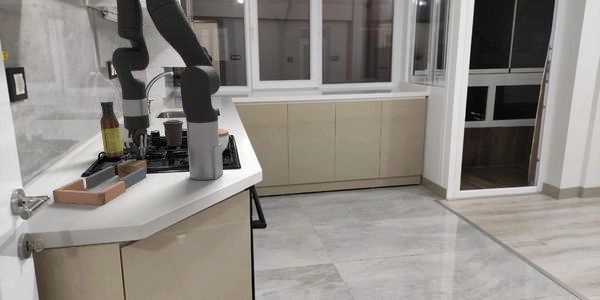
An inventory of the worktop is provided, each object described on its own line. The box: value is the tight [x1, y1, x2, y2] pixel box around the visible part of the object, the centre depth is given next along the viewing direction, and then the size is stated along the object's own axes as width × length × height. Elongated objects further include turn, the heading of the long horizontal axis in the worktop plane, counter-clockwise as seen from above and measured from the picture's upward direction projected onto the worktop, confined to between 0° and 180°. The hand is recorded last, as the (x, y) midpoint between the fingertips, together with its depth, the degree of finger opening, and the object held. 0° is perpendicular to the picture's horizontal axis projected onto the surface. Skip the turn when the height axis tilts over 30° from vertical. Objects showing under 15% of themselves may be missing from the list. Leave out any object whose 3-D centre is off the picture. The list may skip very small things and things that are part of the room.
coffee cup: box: [162, 119, 184, 147], centre depth 168 cm, size 8×8×10 cm
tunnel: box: [84, 165, 147, 190], centre depth 122 cm, size 11×12×3 cm
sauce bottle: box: [99, 100, 124, 158], centre depth 149 cm, size 7×6×20 cm
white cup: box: [118, 120, 129, 150], centre depth 164 cm, size 8×8×10 cm
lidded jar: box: [218, 128, 230, 153], centre depth 157 cm, size 11×11×9 cm
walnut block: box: [117, 159, 148, 178], centre depth 129 cm, size 6×6×4 cm
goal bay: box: [52, 178, 127, 206], centre depth 110 cm, size 14×10×3 cm
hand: (141, 166), depth 134 cm, fingers closed
